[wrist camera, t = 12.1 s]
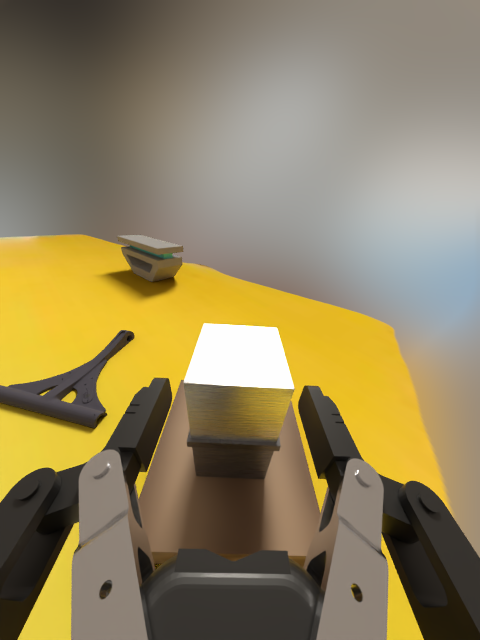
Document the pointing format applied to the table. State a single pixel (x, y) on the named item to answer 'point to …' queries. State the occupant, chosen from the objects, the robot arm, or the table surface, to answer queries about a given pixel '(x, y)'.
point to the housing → (236, 400)
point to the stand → (227, 499)
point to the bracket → (67, 389)
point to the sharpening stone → (151, 257)
